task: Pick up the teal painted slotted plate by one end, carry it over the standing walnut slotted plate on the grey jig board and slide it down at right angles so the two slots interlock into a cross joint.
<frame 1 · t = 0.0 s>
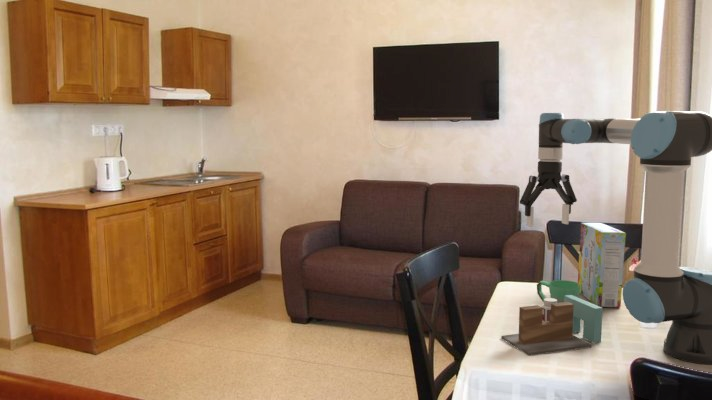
hand: (547, 224, 211), 28 cm above the table, fingers open, 13 cm apart
pill bottle: (549, 326, 195), on the table
snack box: (598, 299, 224), on the table
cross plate: (581, 334, 187), on the table
mug: (556, 313, 209), on the table
slotted stand: (545, 342, 181), on the table
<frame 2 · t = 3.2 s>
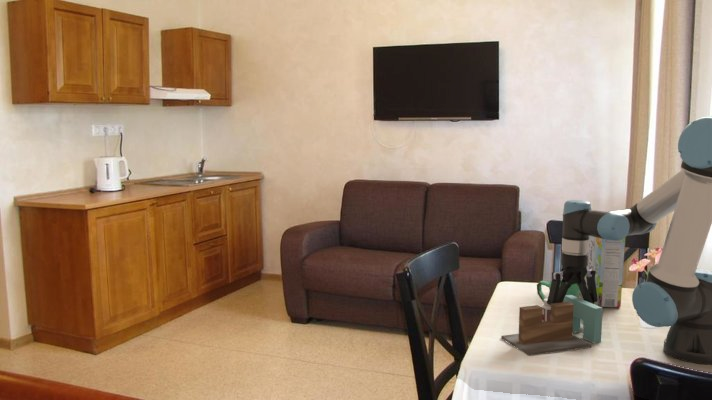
hand: (571, 326, 192), 1 cm above the table, fingers open, 9 cm apart
nothing on the table moved.
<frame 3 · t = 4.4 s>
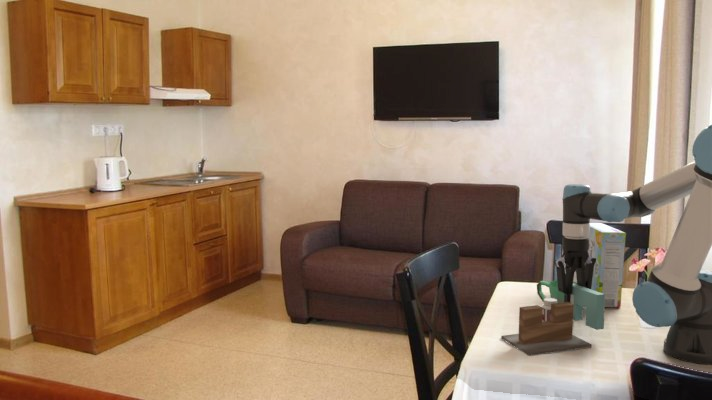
hand: (574, 314, 190), 5 cm above the table, fingers closed on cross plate, 2 cm apart
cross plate: (584, 322, 186), point 4 cm above the table, touching gripper
everything else where it was.
when the fingers open (3 cm above the table, at t = 9.4 s): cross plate stays where it is, resting on slotted stand.
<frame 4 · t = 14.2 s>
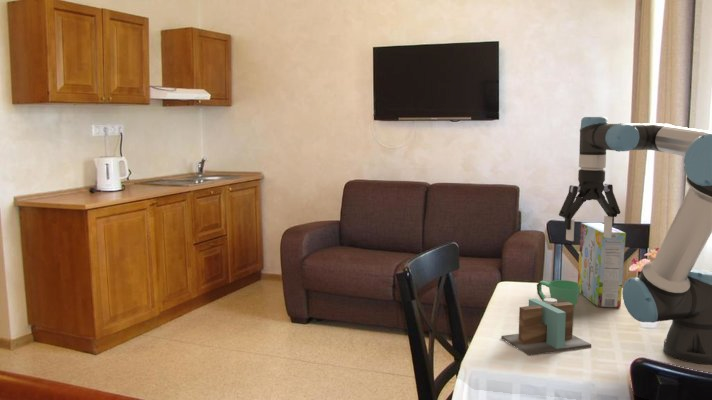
hand: (588, 239, 193), 27 cm above the table, fingers open, 13 cm apart
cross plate: (545, 339, 181), point 1 cm above the table, touching slotted stand
everything else where it was.
at the end: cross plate 0.1 cm off-centre on the slotted stand, point 0.8 cm above the slotted stand's base; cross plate tilted 0°; the gripper is holding nothing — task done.
